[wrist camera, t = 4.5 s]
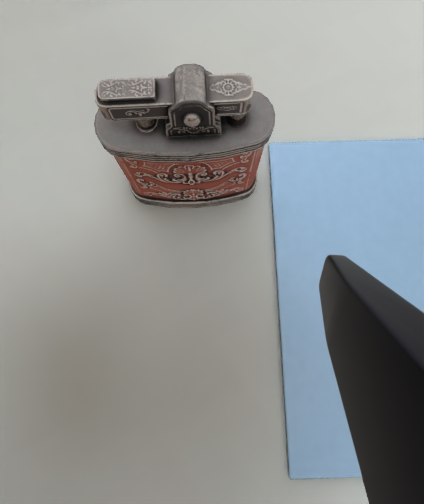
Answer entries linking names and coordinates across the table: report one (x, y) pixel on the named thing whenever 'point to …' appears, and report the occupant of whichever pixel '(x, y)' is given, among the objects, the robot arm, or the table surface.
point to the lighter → (185, 135)
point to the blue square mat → (312, 261)
